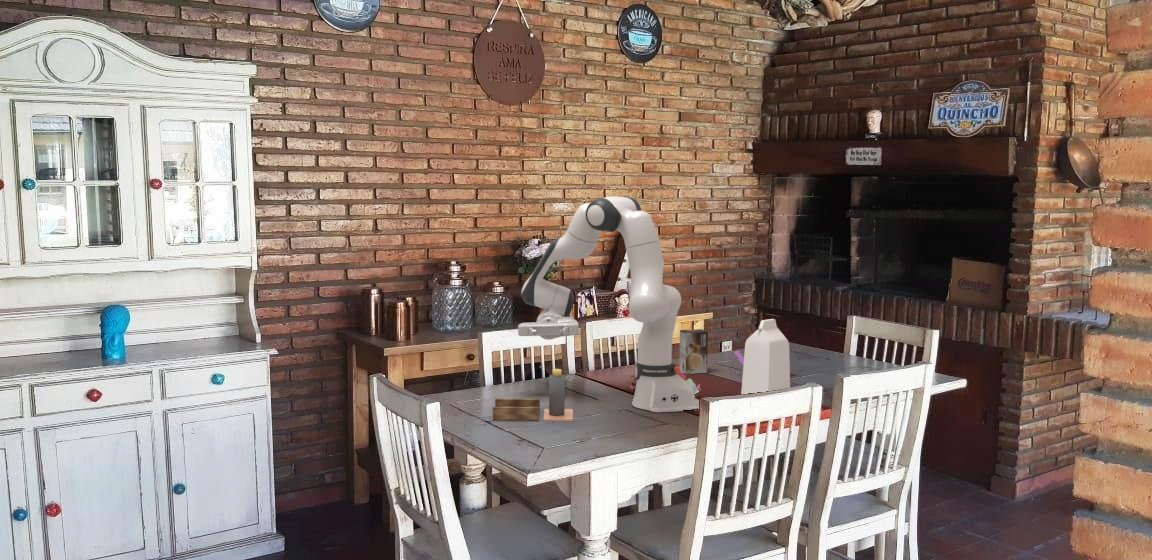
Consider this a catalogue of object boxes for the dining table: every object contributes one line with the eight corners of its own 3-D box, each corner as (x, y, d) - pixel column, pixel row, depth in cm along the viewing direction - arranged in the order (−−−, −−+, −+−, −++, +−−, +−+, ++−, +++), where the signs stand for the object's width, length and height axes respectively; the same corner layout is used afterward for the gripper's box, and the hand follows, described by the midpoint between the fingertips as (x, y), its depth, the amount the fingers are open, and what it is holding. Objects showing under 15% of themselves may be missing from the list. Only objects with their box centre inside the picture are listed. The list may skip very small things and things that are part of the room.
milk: (767, 400, 300) (770, 324, 297) (741, 394, 309) (743, 319, 306) (790, 395, 307) (793, 320, 304) (763, 389, 316) (766, 316, 313)
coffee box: (700, 369, 347) (701, 328, 345) (707, 373, 341) (708, 331, 339) (678, 370, 344) (679, 329, 342) (685, 374, 338) (686, 332, 336)
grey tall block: (564, 412, 281) (564, 368, 279) (564, 416, 276) (564, 371, 275) (549, 411, 281) (549, 368, 279) (548, 415, 276) (549, 371, 275)
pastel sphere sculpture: (620, 393, 310) (620, 367, 309) (646, 379, 330) (647, 355, 329) (688, 402, 298) (689, 375, 297) (711, 387, 319) (712, 362, 318)
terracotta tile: (572, 410, 285) (572, 409, 285) (573, 421, 273) (573, 419, 273) (544, 410, 285) (544, 408, 285) (543, 421, 273) (543, 419, 273)
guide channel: (539, 411, 284) (539, 398, 284) (538, 420, 273) (538, 407, 273) (495, 410, 284) (495, 398, 284) (492, 420, 273) (492, 407, 273)
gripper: (518, 317, 306) (516, 323, 292) (578, 316, 306) (578, 322, 292) (518, 336, 306) (516, 343, 293) (578, 334, 307) (579, 341, 293)
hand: (548, 332), depth 292 cm, fingers open, 8 cm apart
